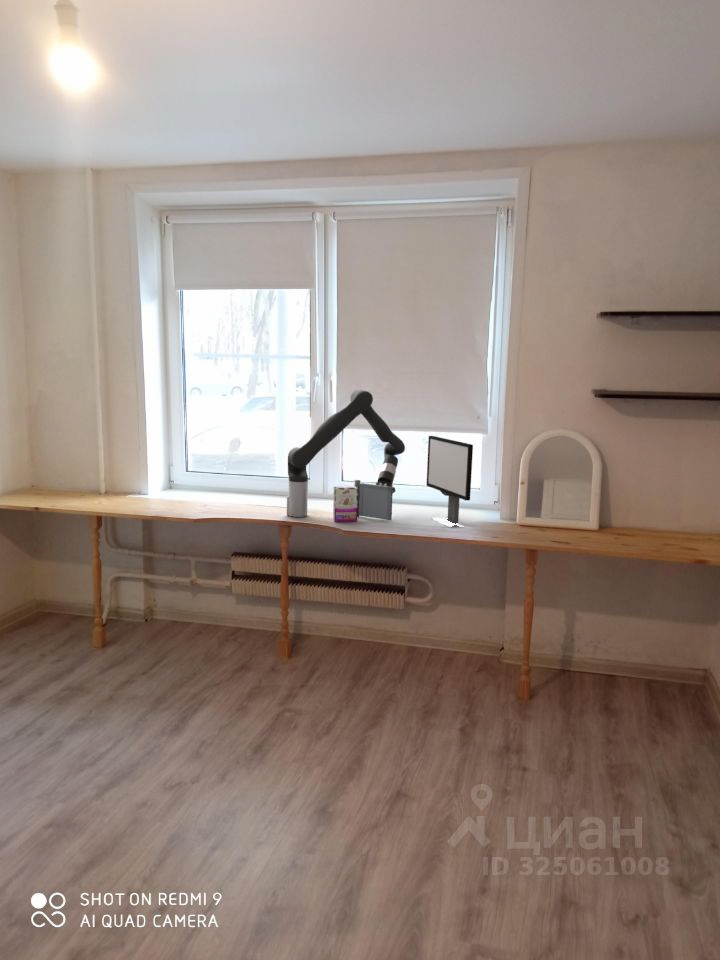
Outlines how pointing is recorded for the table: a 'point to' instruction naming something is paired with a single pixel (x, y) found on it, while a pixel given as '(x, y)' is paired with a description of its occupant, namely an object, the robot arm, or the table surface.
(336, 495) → the candy bar box
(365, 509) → the gate
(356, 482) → the hinge post
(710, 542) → the table surface
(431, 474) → the computer monitor
